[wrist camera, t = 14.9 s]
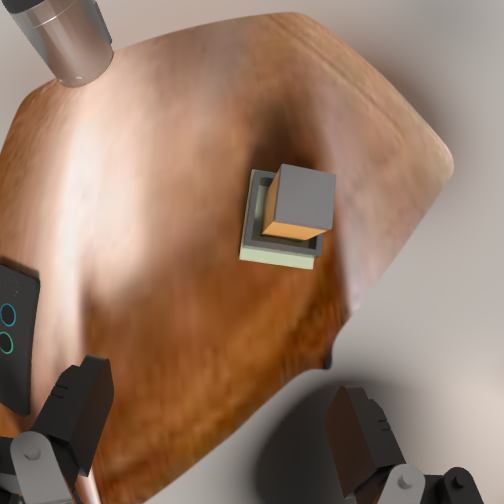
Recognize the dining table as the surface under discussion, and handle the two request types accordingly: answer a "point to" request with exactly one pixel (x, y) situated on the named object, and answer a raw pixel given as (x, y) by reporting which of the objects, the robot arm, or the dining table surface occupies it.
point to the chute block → (298, 204)
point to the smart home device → (16, 337)
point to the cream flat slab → (270, 239)
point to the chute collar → (311, 252)
